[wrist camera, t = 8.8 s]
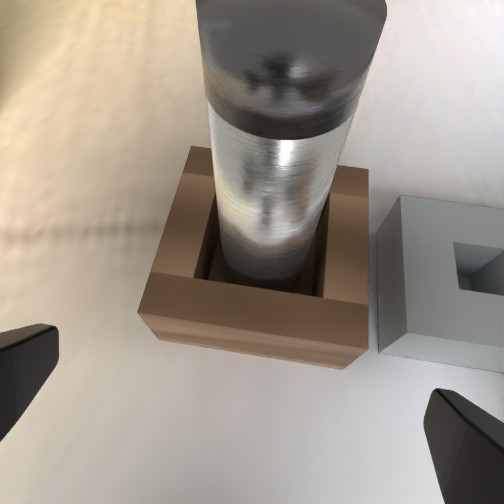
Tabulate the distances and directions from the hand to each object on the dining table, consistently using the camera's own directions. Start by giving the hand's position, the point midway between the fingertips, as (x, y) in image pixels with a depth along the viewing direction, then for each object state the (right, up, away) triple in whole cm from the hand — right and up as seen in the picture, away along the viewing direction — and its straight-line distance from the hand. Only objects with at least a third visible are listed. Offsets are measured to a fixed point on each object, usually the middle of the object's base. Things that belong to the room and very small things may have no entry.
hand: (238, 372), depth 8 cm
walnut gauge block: (+1, +2, +11) cm, 11 cm away
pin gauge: (+1, +2, +10) cm, 11 cm away
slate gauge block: (+11, 0, +10) cm, 15 cm away
